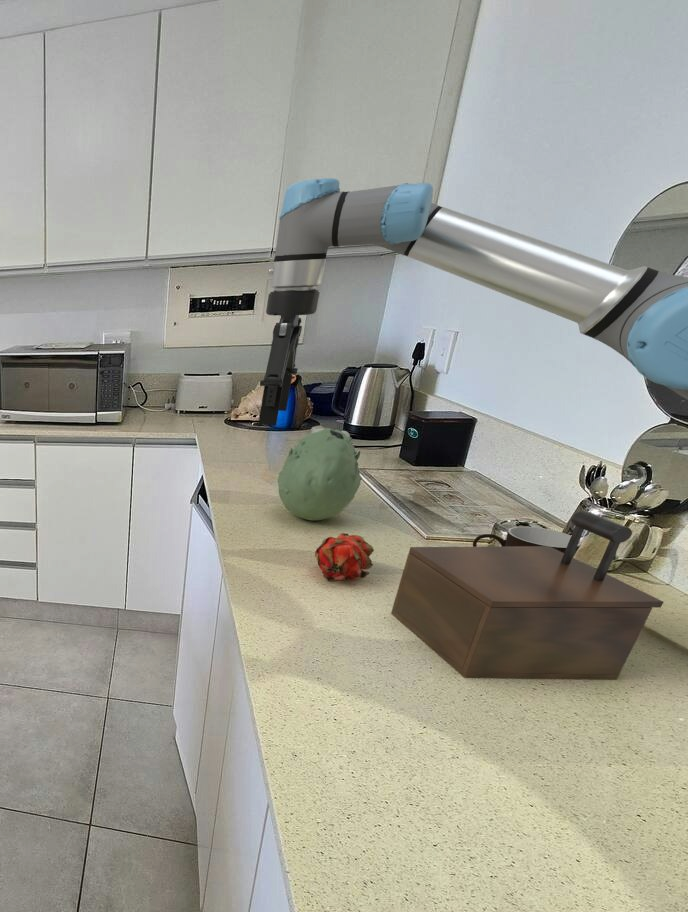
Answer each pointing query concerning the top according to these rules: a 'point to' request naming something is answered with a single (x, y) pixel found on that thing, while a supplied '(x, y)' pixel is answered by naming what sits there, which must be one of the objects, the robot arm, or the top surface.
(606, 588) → the bin lid
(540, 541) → the coffee mug
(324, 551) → the dragon fruit
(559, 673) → the bread bin
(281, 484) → the green bumpy ovoid
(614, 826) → the top surface
